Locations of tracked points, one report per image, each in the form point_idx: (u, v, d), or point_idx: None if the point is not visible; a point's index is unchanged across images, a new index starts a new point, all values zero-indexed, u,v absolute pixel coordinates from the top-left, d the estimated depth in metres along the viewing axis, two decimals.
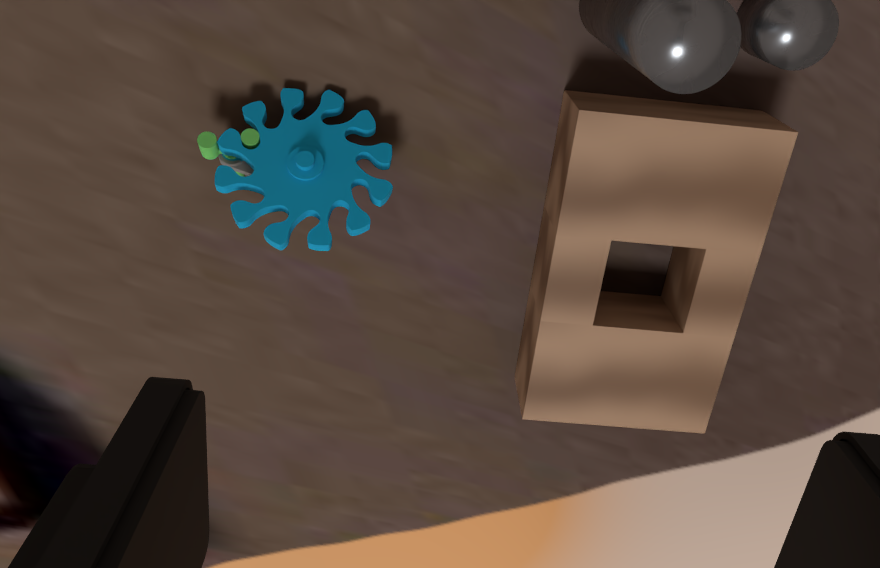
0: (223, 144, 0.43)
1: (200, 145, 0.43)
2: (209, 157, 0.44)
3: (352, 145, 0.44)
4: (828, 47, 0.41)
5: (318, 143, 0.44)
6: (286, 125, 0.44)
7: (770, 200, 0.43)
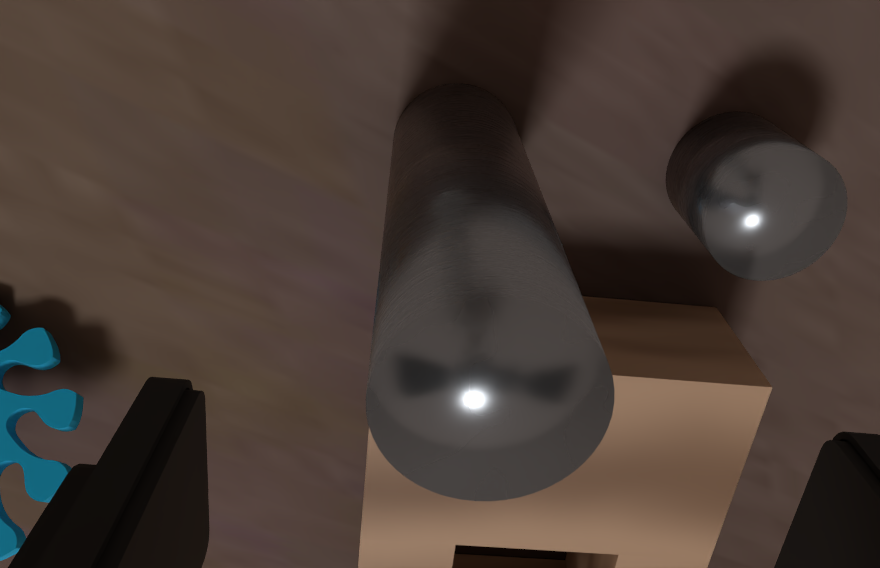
0: None
1: None
2: None
3: (4, 395, 0.26)
4: (827, 243, 0.22)
5: None
6: None
7: (725, 486, 0.25)
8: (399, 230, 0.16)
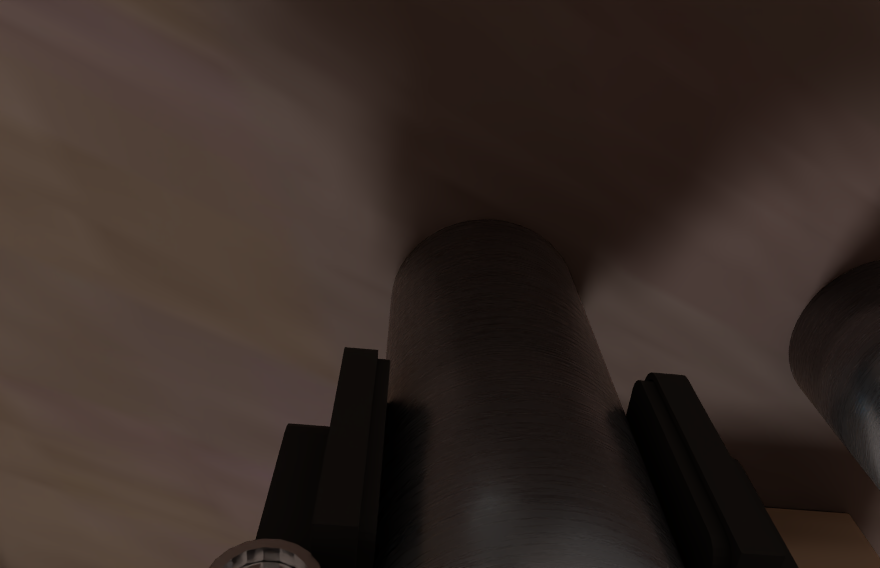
0: None
1: None
2: None
3: None
4: None
5: None
6: None
7: None
8: None
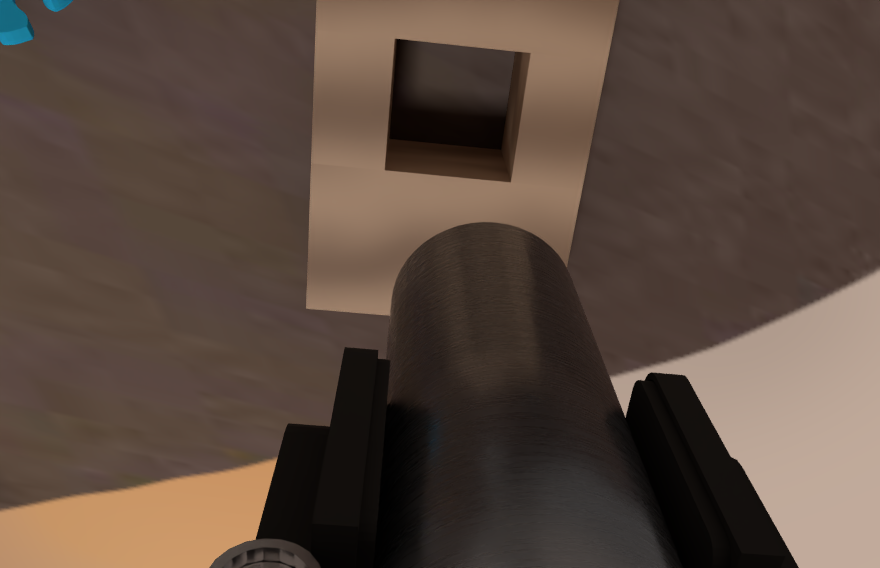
0: None
1: None
2: None
3: None
4: None
5: None
6: None
7: None
8: None
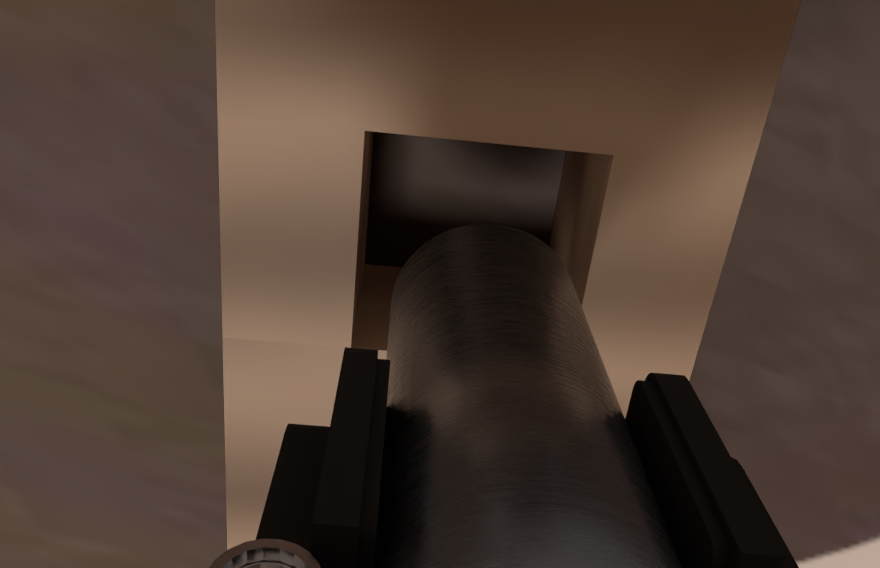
0: None
1: None
2: None
3: None
4: None
5: None
6: None
7: (778, 17, 0.16)
8: None
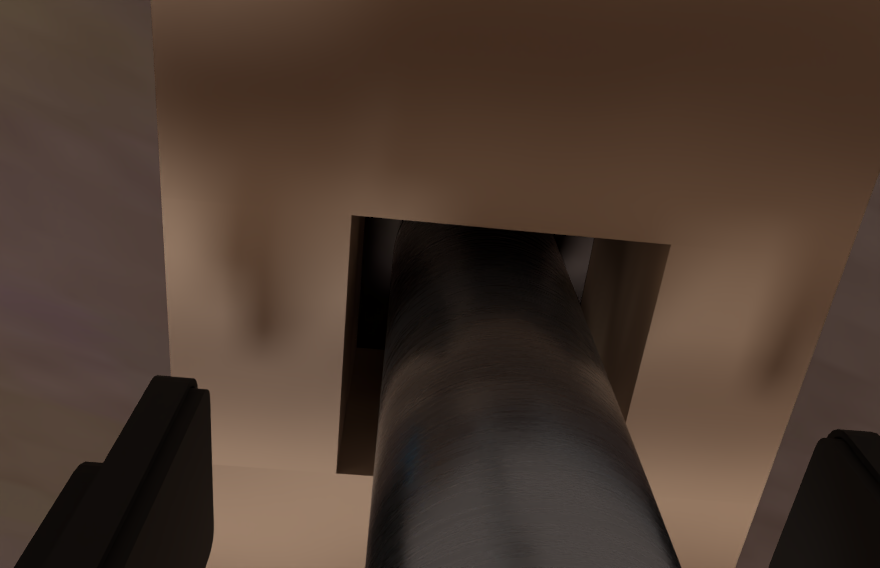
0: None
1: None
2: None
3: None
4: None
5: None
6: None
7: None
8: (399, 485, 0.10)
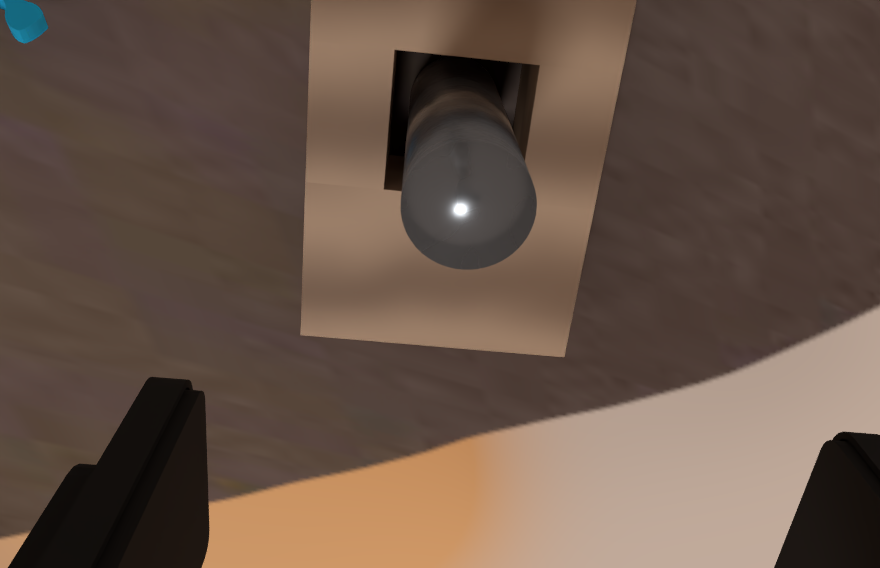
0: None
1: None
2: None
3: None
4: None
5: None
6: None
7: None
8: (417, 128, 0.26)
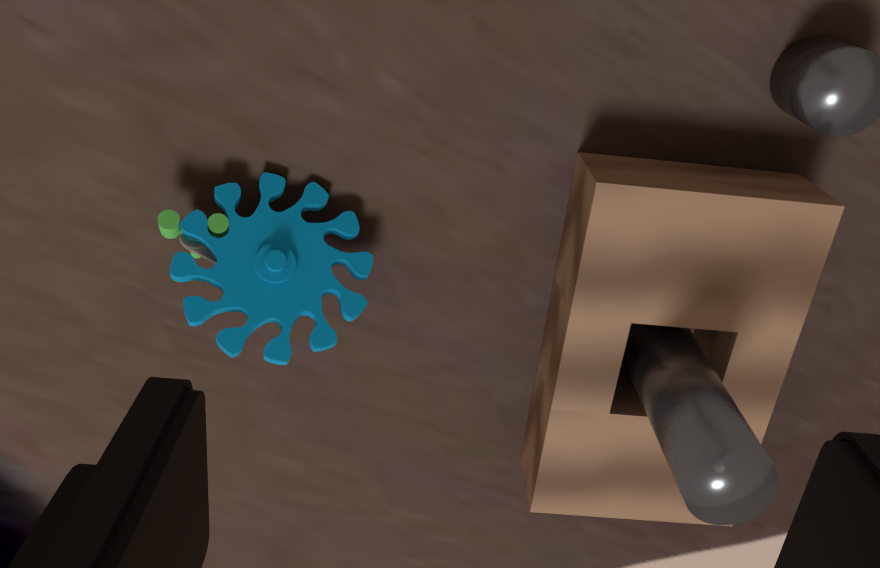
0: (186, 227, 0.38)
1: (160, 224, 0.38)
2: (168, 236, 0.39)
3: (330, 249, 0.40)
4: None
5: (293, 241, 0.39)
6: (260, 216, 0.39)
7: (811, 280, 0.39)
8: (670, 406, 0.36)
